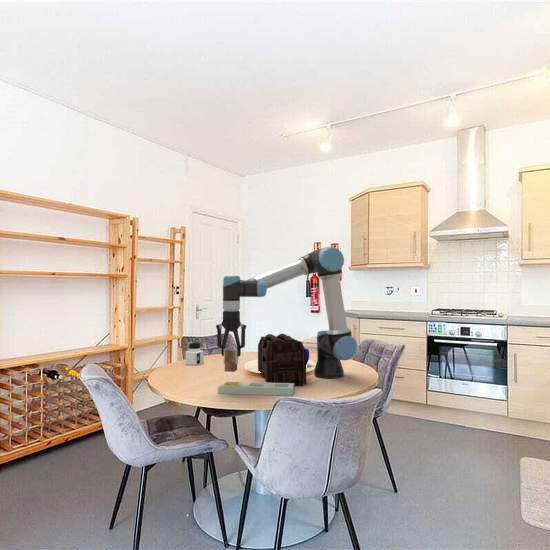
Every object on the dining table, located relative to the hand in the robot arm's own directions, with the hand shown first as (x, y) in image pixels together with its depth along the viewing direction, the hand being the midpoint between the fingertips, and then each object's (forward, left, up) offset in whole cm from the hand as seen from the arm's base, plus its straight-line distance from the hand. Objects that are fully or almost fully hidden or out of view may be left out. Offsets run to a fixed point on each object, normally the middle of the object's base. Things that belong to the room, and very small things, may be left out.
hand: (231, 363), depth 174 cm
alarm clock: (-24, -58, -12) cm, 64 cm away
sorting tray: (-11, 0, -12) cm, 16 cm away
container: (+38, -59, -12) cm, 71 cm away
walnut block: (0, 0, -3) cm, 3 cm away
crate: (-18, -27, -12) cm, 35 cm away
